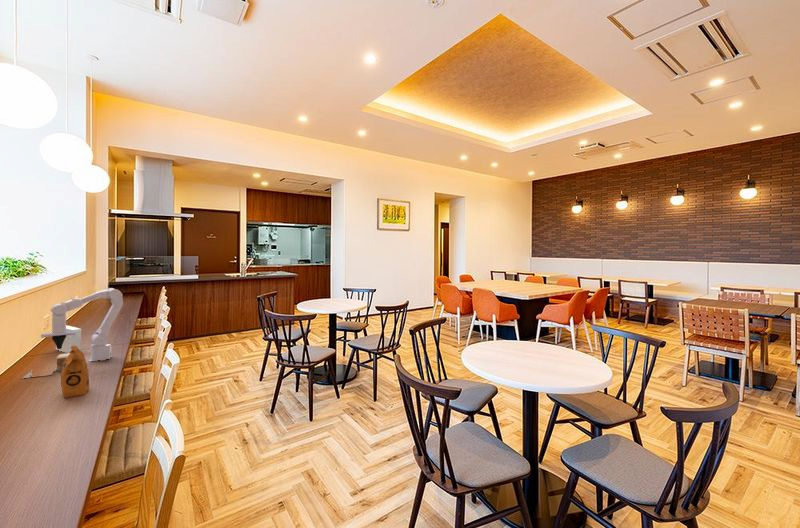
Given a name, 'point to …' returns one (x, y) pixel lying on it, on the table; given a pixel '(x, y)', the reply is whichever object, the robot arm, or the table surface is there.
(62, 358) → the brown and cream block
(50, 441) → the table surface
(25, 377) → the mat
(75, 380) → the coffee package
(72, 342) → the skincare box
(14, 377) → the table surface
